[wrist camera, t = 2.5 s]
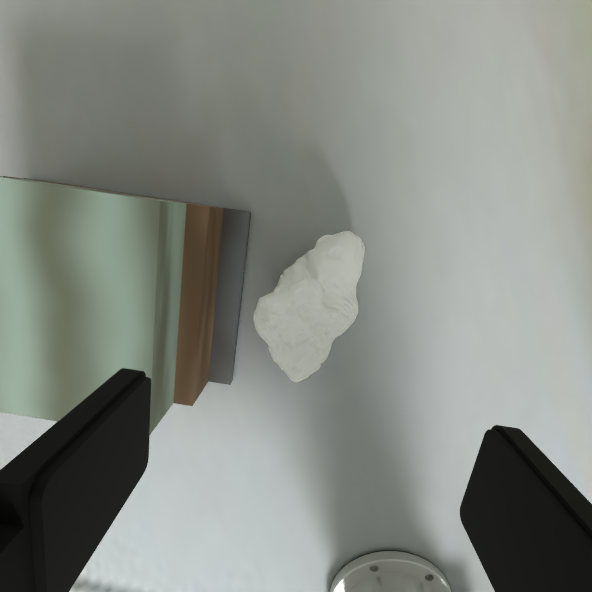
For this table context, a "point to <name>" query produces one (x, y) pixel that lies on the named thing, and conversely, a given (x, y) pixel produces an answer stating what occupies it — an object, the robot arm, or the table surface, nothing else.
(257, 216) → the table surface
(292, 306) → the bust
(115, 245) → the sage layered slab
